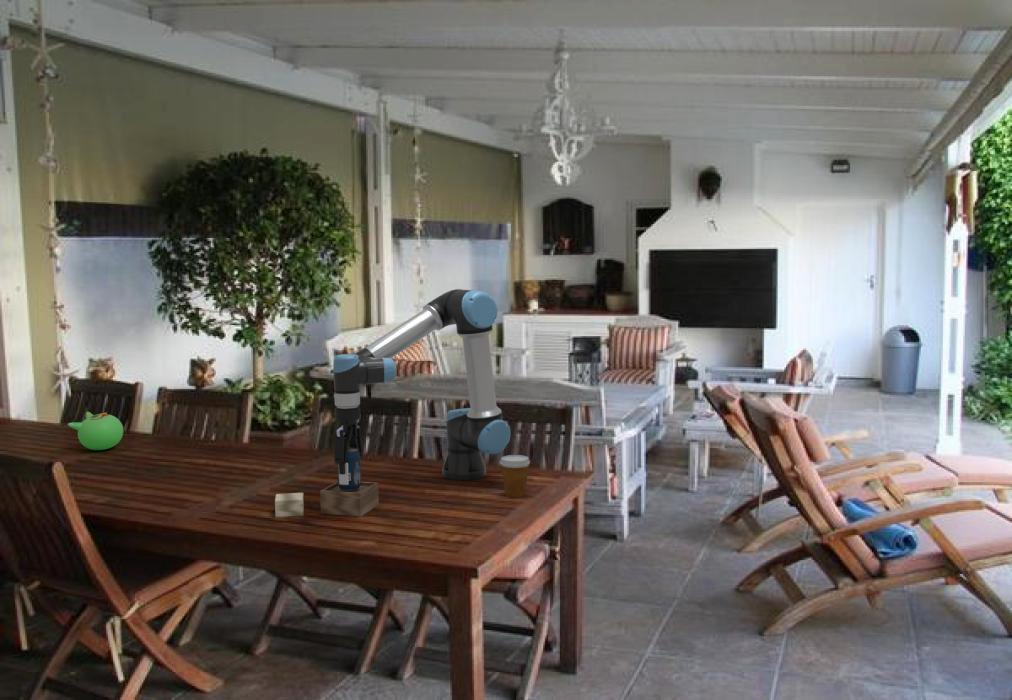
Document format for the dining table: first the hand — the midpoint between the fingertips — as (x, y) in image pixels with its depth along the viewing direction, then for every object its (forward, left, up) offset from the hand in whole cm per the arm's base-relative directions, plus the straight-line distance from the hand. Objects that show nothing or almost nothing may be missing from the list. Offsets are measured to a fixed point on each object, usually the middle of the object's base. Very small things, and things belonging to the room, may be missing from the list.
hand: (349, 480), depth 289 cm
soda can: (0, 0, -2) cm, 2 cm away
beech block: (+16, +8, -9) cm, 20 cm away
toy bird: (+131, -49, -9) cm, 140 cm away
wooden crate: (0, 0, -9) cm, 9 cm away
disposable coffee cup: (-44, -28, -9) cm, 53 cm away
